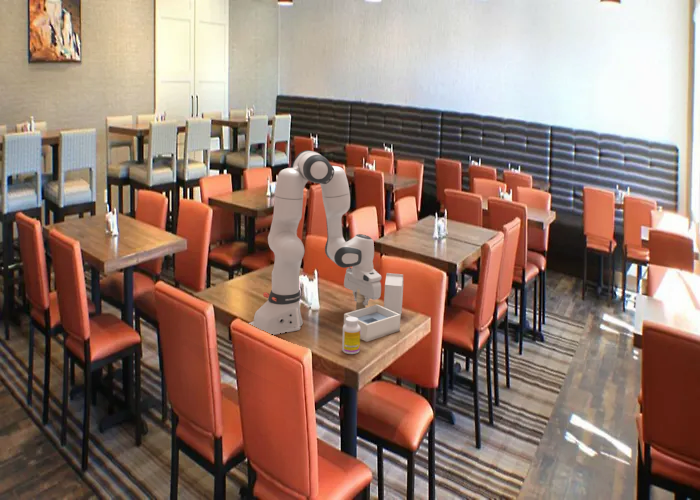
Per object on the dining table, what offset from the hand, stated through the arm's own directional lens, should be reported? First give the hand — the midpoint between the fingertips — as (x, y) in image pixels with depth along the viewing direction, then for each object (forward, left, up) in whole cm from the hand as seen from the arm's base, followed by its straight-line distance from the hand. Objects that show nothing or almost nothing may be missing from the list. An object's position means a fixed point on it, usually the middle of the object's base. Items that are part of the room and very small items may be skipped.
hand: (361, 303), depth 250 cm
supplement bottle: (-26, -24, -6) cm, 36 cm away
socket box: (-7, -15, -6) cm, 17 cm away
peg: (0, 0, -5) cm, 5 cm away
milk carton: (+11, -8, -6) cm, 15 cm away
